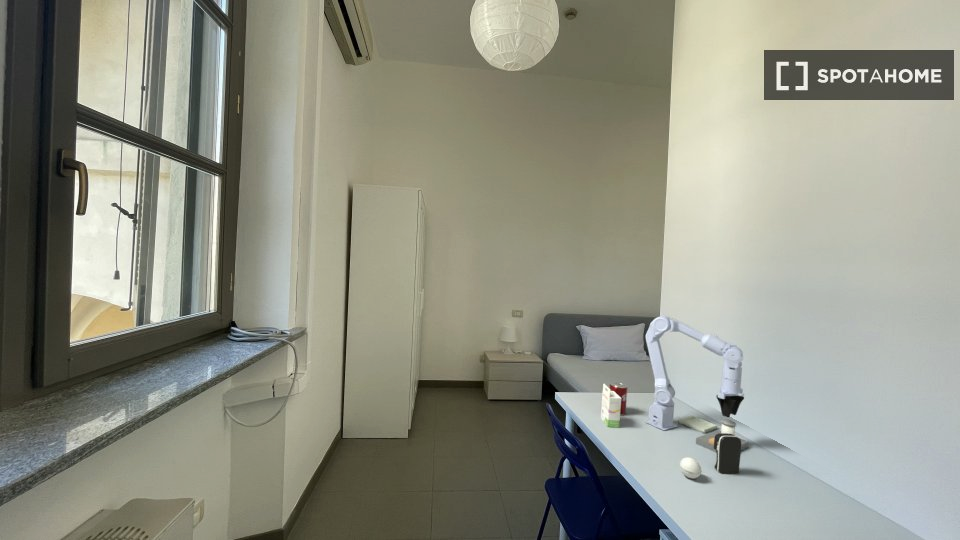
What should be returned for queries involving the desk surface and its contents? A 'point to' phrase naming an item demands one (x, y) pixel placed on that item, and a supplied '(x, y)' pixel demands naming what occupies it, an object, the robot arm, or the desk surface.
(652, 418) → the robot arm
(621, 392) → the soda can
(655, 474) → the desk surface
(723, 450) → the battery charger
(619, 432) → the desk surface
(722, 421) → the grey cylinder
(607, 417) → the ink box
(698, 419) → the tray
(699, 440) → the housing
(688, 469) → the white egg
